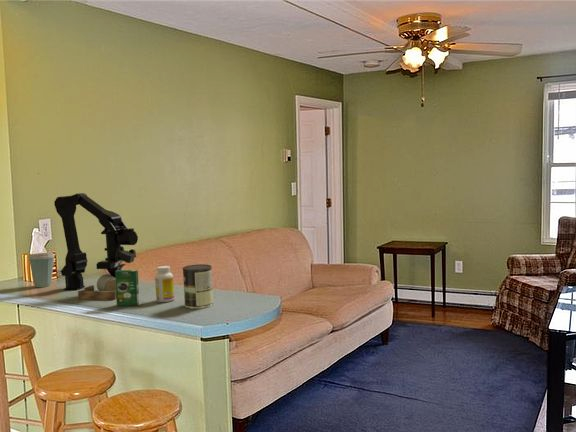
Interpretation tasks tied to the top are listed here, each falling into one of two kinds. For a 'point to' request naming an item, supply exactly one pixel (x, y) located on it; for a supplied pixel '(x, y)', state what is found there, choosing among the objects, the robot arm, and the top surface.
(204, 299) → the coffee can
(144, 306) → the top surface
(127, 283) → the coffee box
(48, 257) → the disposable coffee cup
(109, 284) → the ceramic mug
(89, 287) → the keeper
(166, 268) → the supplement bottle
